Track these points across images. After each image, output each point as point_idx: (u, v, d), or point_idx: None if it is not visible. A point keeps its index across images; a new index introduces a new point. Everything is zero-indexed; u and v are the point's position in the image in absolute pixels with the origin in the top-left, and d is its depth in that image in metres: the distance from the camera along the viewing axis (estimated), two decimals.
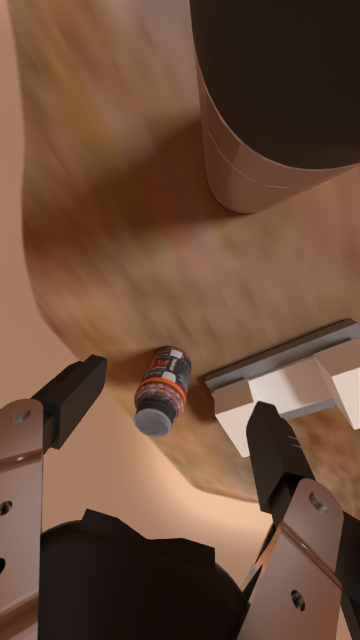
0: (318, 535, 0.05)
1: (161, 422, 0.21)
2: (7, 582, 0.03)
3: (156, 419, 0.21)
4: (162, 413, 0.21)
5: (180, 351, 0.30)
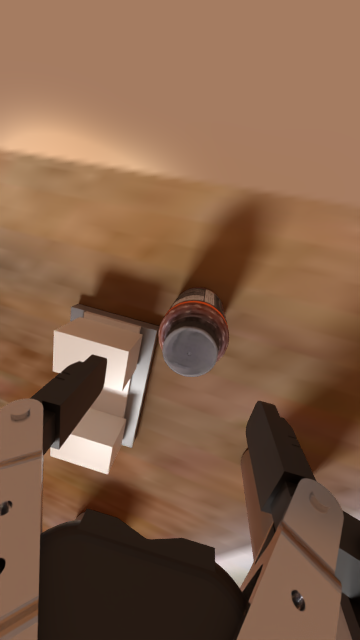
0: (318, 535, 0.05)
1: (184, 365, 0.15)
2: (7, 582, 0.03)
3: (192, 364, 0.15)
4: (194, 376, 0.15)
5: None
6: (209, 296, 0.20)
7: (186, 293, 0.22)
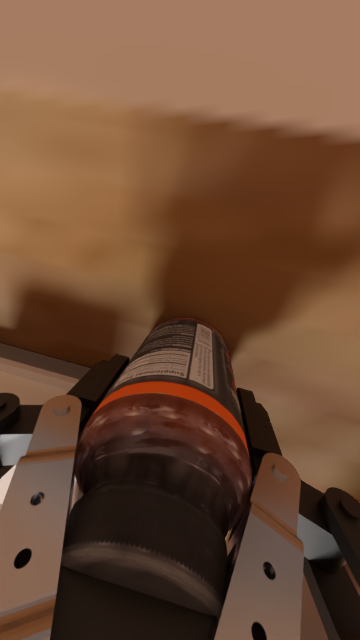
0: (281, 503, 0.06)
1: None
2: (7, 582, 0.03)
3: None
4: None
5: None
6: (202, 348, 0.10)
7: (158, 336, 0.11)
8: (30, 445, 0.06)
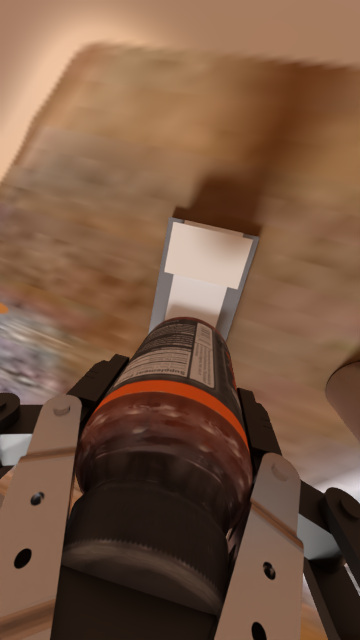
0: (281, 503, 0.06)
1: None
2: (7, 582, 0.03)
3: None
4: None
5: None
6: (203, 347, 0.10)
7: (158, 336, 0.11)
8: (30, 445, 0.06)
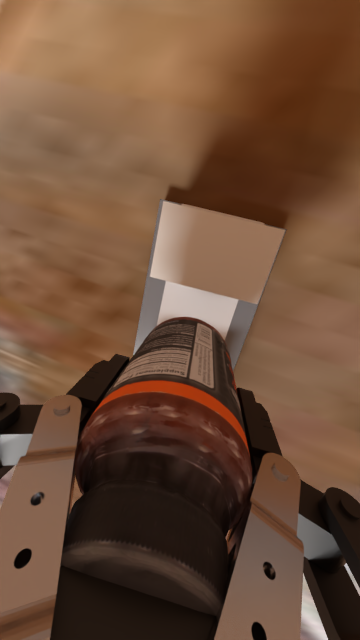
0: (281, 503, 0.06)
1: None
2: (7, 582, 0.03)
3: None
4: None
5: None
6: (203, 347, 0.10)
7: (158, 336, 0.11)
8: (30, 445, 0.06)
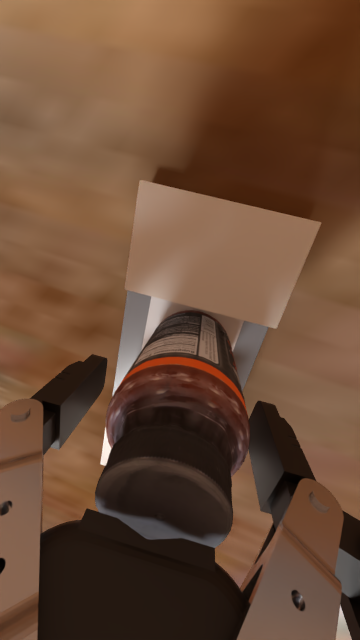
0: (318, 535, 0.05)
1: (149, 536, 0.06)
2: (7, 582, 0.03)
3: (168, 536, 0.06)
4: None
5: None
6: (208, 334, 0.11)
7: (168, 325, 0.13)
8: None
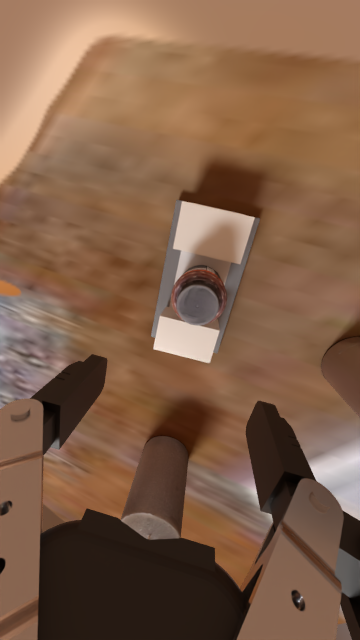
0: (318, 535, 0.05)
1: (193, 316, 0.20)
2: (7, 582, 0.03)
3: (199, 314, 0.20)
4: (200, 324, 0.20)
5: None
6: (210, 269, 0.25)
7: (191, 268, 0.26)
8: None
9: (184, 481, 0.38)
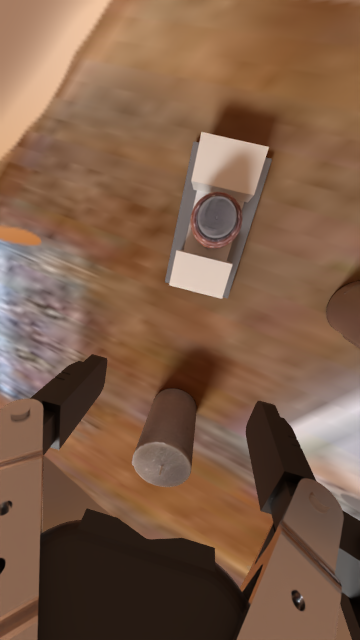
0: (318, 535, 0.05)
1: (212, 228, 0.22)
2: (7, 582, 0.03)
3: (218, 226, 0.22)
4: (219, 237, 0.22)
5: None
6: None
7: None
8: None
9: (193, 425, 0.40)
